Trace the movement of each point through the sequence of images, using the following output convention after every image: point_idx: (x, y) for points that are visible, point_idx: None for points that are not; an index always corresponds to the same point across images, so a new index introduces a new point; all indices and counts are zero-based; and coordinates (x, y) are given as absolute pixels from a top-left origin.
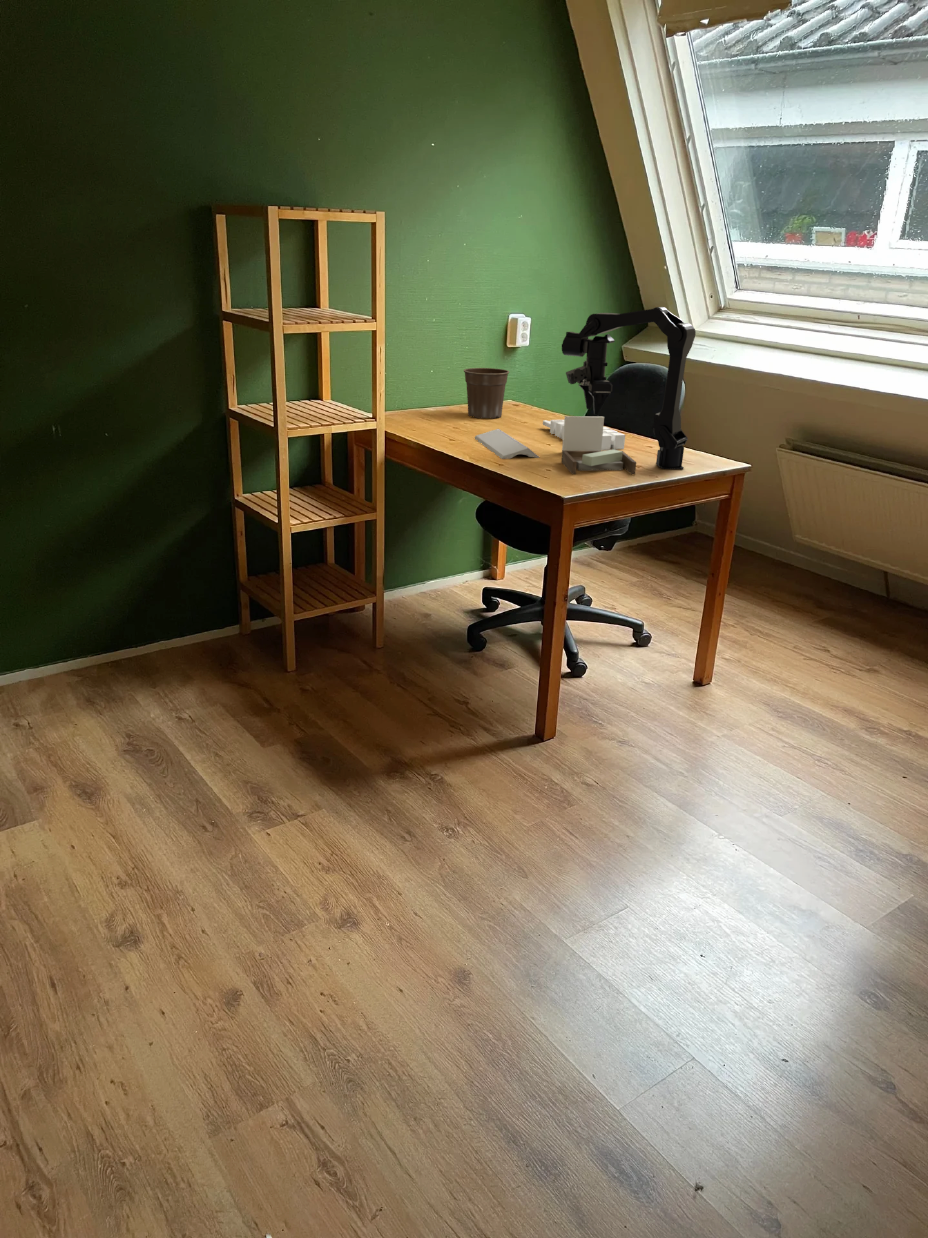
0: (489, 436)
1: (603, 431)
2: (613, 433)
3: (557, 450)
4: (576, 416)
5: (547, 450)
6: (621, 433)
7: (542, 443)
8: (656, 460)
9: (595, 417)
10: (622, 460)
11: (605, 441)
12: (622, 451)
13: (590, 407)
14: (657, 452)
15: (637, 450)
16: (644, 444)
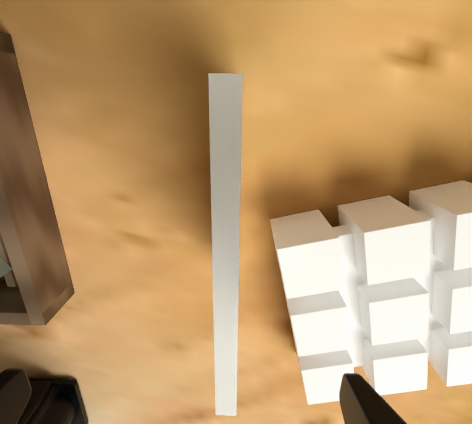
0: None
1: (415, 348)
2: (342, 372)
3: (280, 78)
4: (227, 214)
5: (282, 15)
6: (338, 399)
7: (462, 24)
8: (43, 390)
9: (215, 360)
10: (3, 294)
11: (289, 314)
12: (33, 321)
13: (344, 416)
14: (21, 418)
15: (272, 383)
16: None
